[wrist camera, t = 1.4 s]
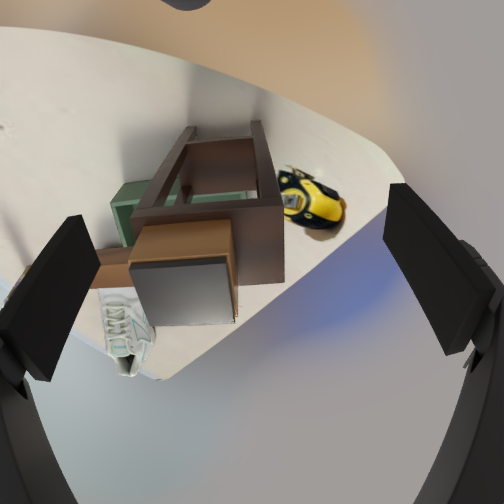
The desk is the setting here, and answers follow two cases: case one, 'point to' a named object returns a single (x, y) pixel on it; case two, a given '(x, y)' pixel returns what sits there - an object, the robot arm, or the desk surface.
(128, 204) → the bin
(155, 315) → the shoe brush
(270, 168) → the brown wooden stand
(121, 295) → the training shoe
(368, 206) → the desk surface
